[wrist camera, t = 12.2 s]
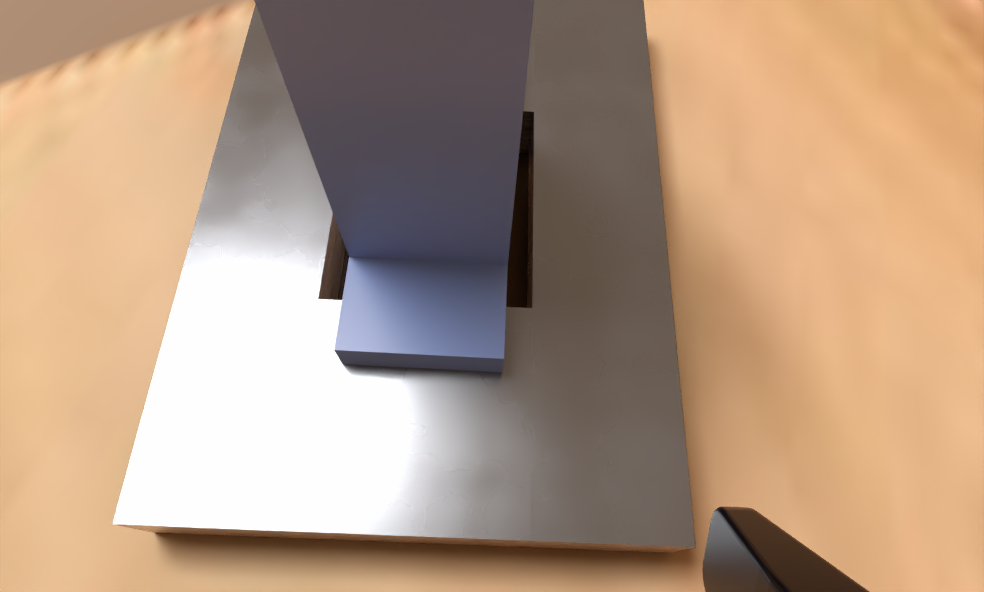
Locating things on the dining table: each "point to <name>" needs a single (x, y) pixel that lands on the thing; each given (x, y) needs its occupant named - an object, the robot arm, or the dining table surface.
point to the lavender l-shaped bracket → (413, 164)
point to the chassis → (421, 391)
